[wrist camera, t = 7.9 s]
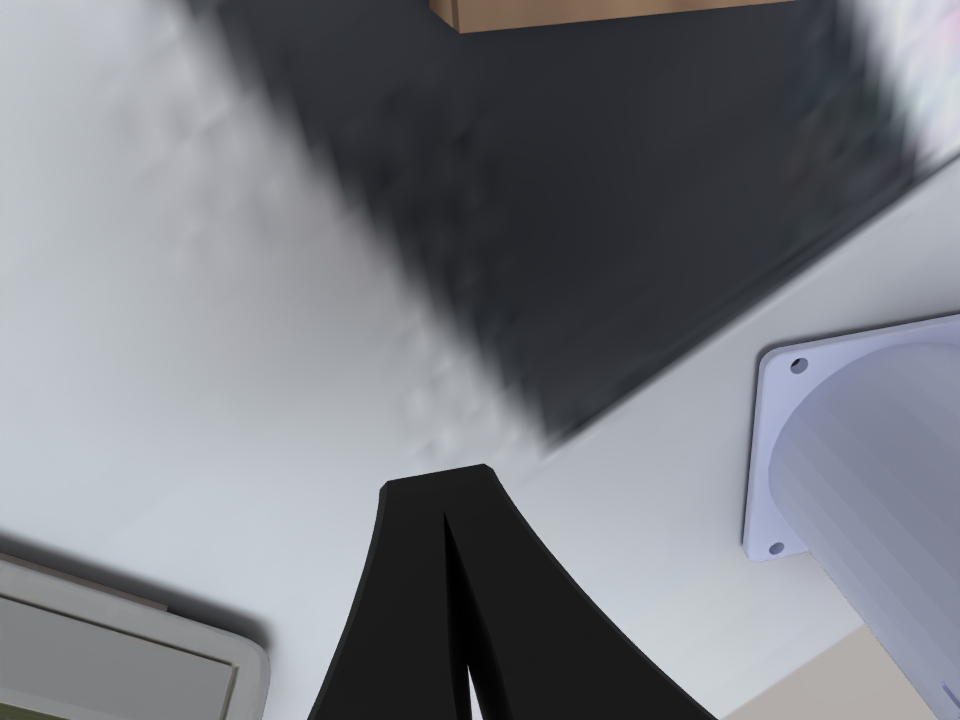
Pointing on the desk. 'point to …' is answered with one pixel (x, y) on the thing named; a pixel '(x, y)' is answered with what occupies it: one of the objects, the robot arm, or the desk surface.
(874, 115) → the desk surface
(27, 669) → the digital clock
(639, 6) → the open wooden box
